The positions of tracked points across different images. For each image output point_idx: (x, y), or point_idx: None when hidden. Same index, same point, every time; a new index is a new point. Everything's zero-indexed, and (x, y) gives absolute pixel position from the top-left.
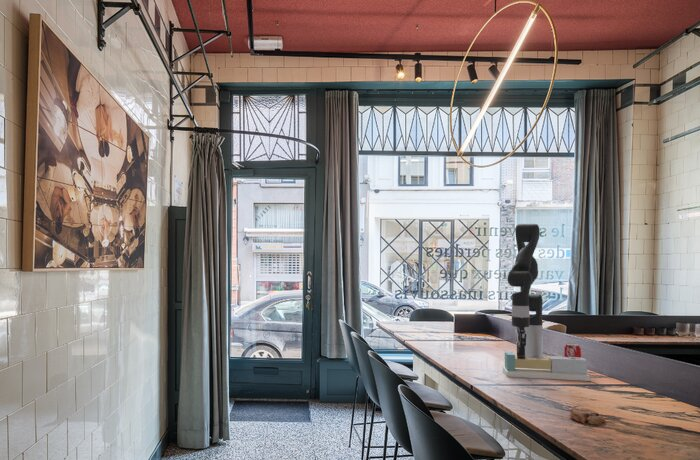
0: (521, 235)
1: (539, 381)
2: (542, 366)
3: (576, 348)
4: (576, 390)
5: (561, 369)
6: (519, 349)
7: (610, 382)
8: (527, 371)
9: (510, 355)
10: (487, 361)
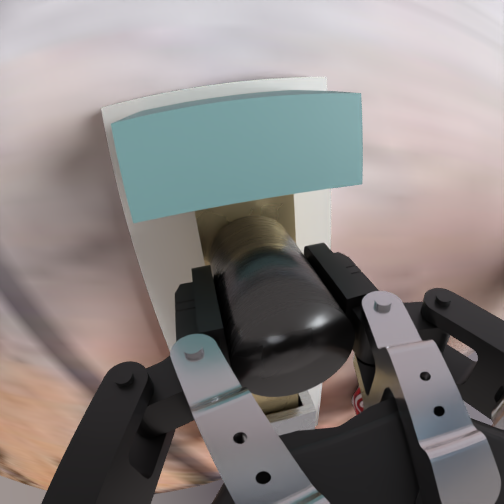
0: None
1: (79, 301)
2: None
3: None
4: (34, 399)
5: None
6: (194, 309)
7: None
8: (182, 255)
9: (122, 164)
10: (495, 48)
